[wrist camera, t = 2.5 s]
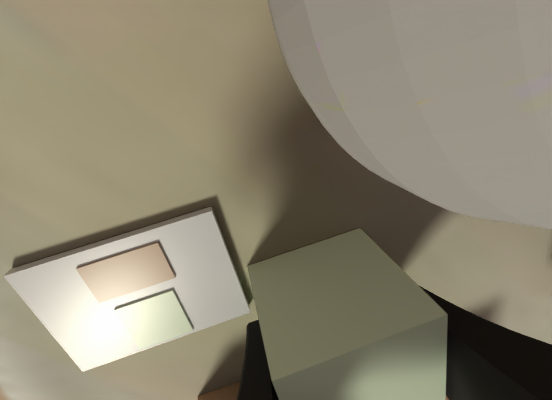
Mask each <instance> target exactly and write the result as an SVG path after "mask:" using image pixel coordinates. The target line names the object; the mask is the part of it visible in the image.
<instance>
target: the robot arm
mask: <svg viewBox="0 0 552 400" xmlns="http://www.w3.org/2000/svg"><path fill="white" fill-rule="evenodd" d="M418 286H419V285H418ZM419 287H421V286H419ZM421 288H422V287H421ZM422 289H423V290H424V291H425V292H426V293H427V294H428V295H429V296H430V297H431V298H432V299H433V300H434V301H435V302H436V303H437V304H438V305H439V306H440V307H441V308H442V309H443V310H444V311H445V312H446V313H447V314H448V322H447V362H446V396H447V398H448V399H449V400H552V345H551V344H548V343H545V342H542V341H540V340H537V339H534V338H531V337H528V336H525V335H522V334H520V333H517V332H515V331H512V330H509V329H507V328H505V327H502V326H500V325H497V324H495V323H492V322H490V321H488V320H485V319H483V318H481V317H479V316H476V315H474V314H472V313H470V312H468V311H466V310H464V309H462V308H460V307H458V306H456V305H454V304H452V303H450V302H448V301H446V300H444V299H442V298H441V297H439V296H437V295H435V294H433V293H431V292H429V291H428V290H426V289H424V288H422ZM237 400H279V398H278V396H277V393H276V391H275V388H274V386H273V383H272V380H271V375H270V370H269V366H268V361H267V356H266V352H265V347H264V342H263V338H262V333H261V328H260V324H259V320H256V321H254V322H251V323H249V324H248V325H247V336H246V348H245V357H244V363H243V369H242V376H241V381H240V386H239V391H238V395H237Z"/></svg>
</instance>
